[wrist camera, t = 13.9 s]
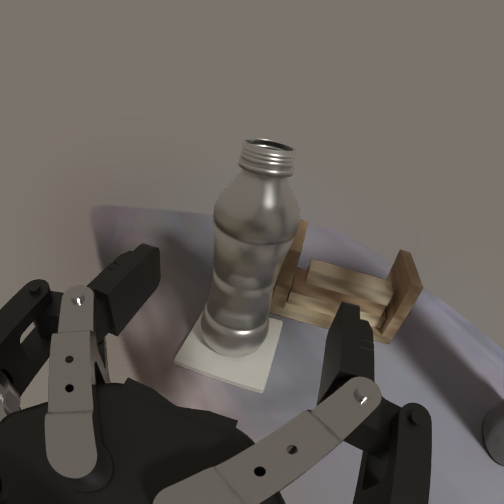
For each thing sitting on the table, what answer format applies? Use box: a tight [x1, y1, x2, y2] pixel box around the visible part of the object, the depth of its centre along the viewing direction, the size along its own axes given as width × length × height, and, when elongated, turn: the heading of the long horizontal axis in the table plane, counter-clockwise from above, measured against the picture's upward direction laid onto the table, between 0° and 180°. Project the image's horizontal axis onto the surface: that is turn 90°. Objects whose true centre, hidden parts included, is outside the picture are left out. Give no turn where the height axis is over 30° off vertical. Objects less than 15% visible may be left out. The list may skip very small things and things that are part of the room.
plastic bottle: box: [201, 138, 300, 357], centre depth 25 cm, size 6×7×20 cm
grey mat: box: [174, 312, 283, 394], centre depth 31 cm, size 9×10×1 cm
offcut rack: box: [270, 219, 423, 344], centre depth 36 cm, size 16×8×9 cm, turn 75°
